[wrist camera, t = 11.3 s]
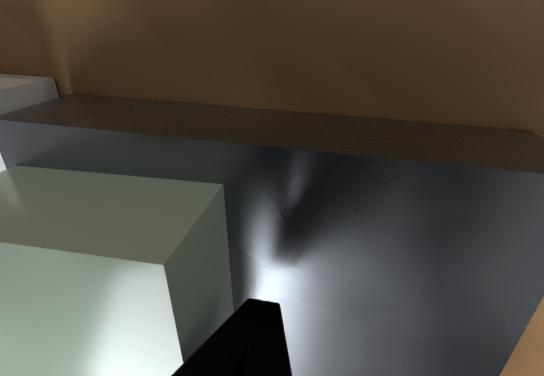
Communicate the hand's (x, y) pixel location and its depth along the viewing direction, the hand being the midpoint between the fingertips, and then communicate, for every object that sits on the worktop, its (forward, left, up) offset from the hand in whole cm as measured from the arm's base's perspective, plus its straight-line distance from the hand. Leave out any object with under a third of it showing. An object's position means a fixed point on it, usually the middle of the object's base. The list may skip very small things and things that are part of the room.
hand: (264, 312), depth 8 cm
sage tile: (0, +4, -1) cm, 4 cm away
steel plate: (-4, +1, -4) cm, 6 cm away
